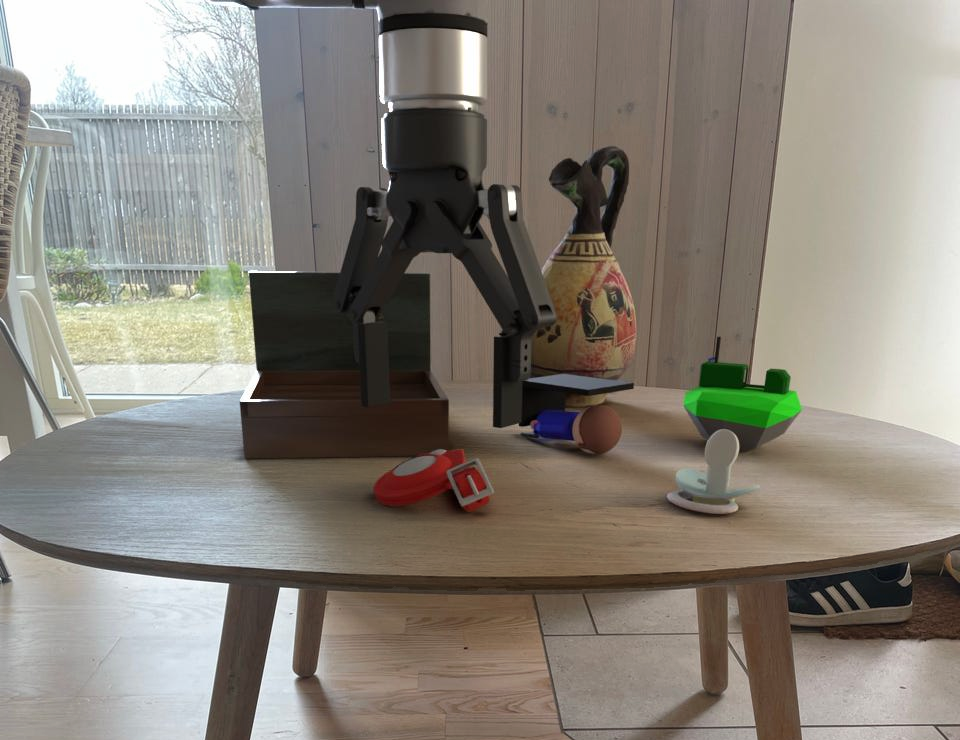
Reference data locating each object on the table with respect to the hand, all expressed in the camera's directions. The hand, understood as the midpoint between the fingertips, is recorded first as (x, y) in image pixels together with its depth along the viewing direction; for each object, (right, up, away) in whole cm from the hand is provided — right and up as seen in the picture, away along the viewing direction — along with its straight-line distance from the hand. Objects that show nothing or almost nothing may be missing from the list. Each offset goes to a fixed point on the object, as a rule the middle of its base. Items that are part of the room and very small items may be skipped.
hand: (438, 414), depth 74 cm
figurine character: (+12, +3, +24) cm, 27 cm away
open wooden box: (-11, +4, +26) cm, 29 cm away
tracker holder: (0, -7, +3) cm, 8 cm away
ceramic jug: (+16, +14, +49) cm, 53 cm away
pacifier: (+22, -7, +4) cm, 24 cm away
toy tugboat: (+31, +2, +24) cm, 39 cm away
